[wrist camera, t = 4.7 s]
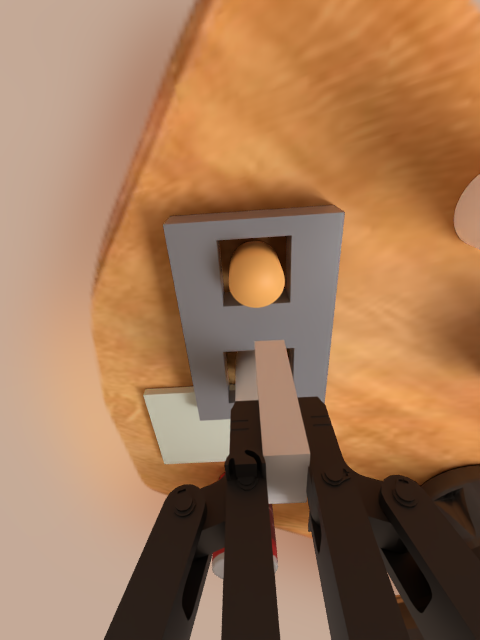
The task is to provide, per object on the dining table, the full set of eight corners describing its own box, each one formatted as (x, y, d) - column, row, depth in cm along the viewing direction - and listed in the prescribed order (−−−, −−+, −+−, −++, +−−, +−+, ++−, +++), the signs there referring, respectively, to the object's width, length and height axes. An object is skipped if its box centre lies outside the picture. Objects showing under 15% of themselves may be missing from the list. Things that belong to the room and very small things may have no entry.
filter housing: (317, 395, 37) (323, 414, 35) (202, 401, 37) (200, 420, 35) (334, 204, 26) (344, 212, 23) (170, 216, 26) (162, 224, 24)
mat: (258, 453, 43) (258, 459, 42) (165, 457, 43) (164, 464, 42) (254, 383, 36) (255, 389, 35) (145, 389, 36) (143, 395, 35)
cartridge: (281, 375, 36) (299, 472, 25) (236, 378, 36) (236, 475, 25) (281, 338, 33) (301, 430, 23) (233, 341, 33) (231, 433, 23)
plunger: (278, 285, 29) (284, 306, 25) (231, 288, 29) (231, 309, 25) (278, 239, 26) (285, 254, 23) (227, 242, 26) (226, 257, 23)
